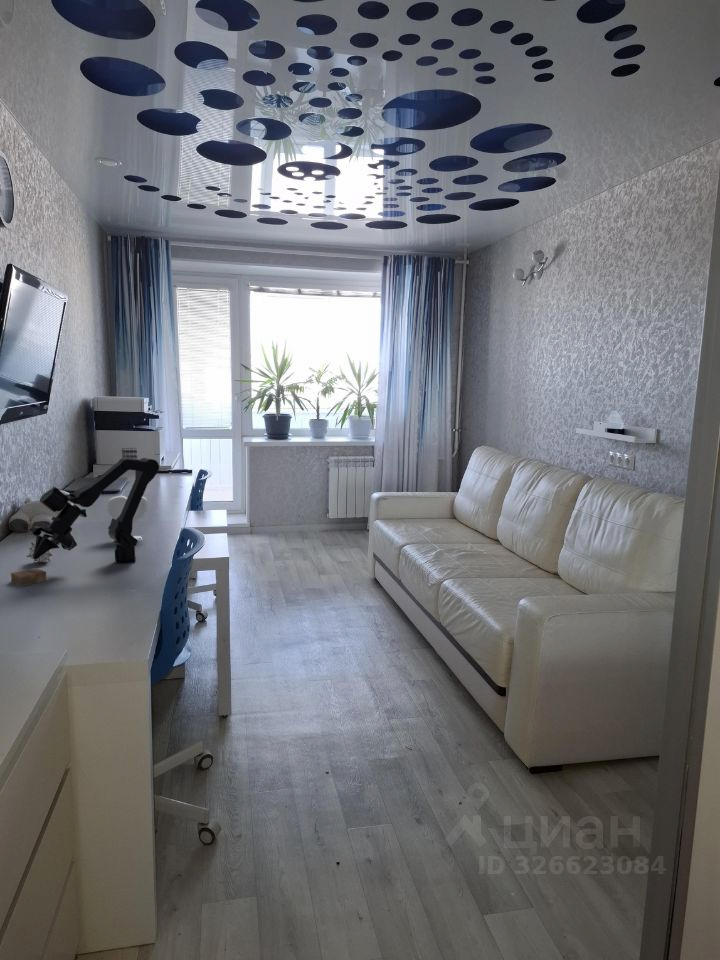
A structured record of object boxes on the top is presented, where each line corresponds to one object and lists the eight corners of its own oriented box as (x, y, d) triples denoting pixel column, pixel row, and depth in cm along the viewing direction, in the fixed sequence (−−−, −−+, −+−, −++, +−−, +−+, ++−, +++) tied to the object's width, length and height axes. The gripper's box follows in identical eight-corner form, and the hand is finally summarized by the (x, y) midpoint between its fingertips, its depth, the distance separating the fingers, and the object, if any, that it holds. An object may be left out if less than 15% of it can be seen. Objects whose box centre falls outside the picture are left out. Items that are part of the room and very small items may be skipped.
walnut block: (35, 567, 216) (10, 572, 209) (46, 571, 212) (21, 577, 205) (36, 576, 216) (11, 582, 210) (46, 580, 212) (21, 586, 206)
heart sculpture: (108, 541, 263) (106, 497, 261) (109, 538, 268) (107, 495, 265) (148, 538, 268) (147, 496, 265) (148, 536, 273) (147, 494, 270)
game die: (37, 574, 231) (17, 555, 225) (41, 559, 238) (22, 541, 232) (59, 562, 230) (39, 543, 225) (62, 548, 237) (43, 529, 232)
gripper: (96, 537, 218) (66, 576, 211) (67, 529, 229) (38, 566, 222) (72, 518, 211) (41, 558, 204) (44, 511, 222) (13, 548, 215)
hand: (34, 558), depth 212 cm, fingers closed
